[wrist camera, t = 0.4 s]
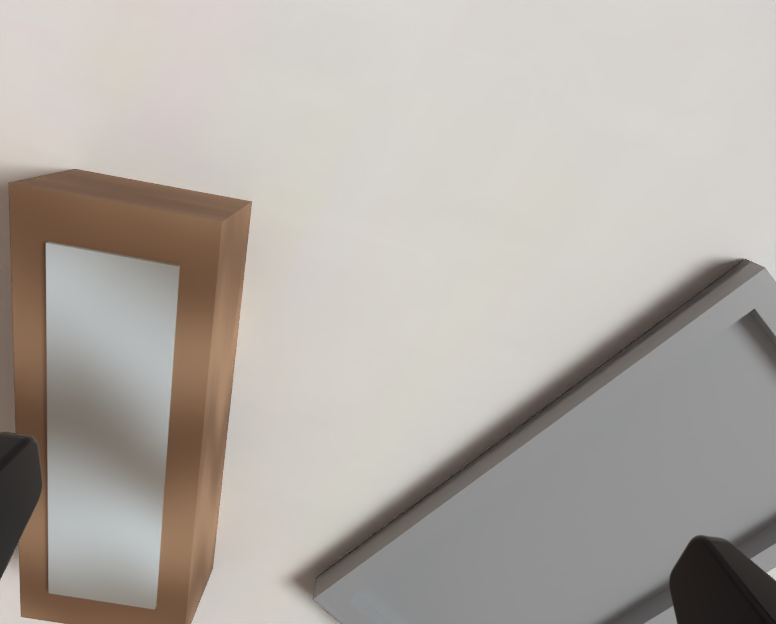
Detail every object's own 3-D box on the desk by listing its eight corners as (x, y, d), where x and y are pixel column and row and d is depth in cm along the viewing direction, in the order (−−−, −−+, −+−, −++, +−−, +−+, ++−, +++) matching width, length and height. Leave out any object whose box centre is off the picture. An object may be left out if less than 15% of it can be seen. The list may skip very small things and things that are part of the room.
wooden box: (215, 563, 26) (182, 645, 22) (76, 541, 26) (18, 620, 22) (254, 200, 21) (220, 222, 17) (80, 167, 21) (5, 183, 17)
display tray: (479, 716, 28) (483, 741, 27) (316, 577, 26) (312, 599, 25) (895, 461, 23) (920, 480, 22) (745, 258, 21) (765, 267, 20)
